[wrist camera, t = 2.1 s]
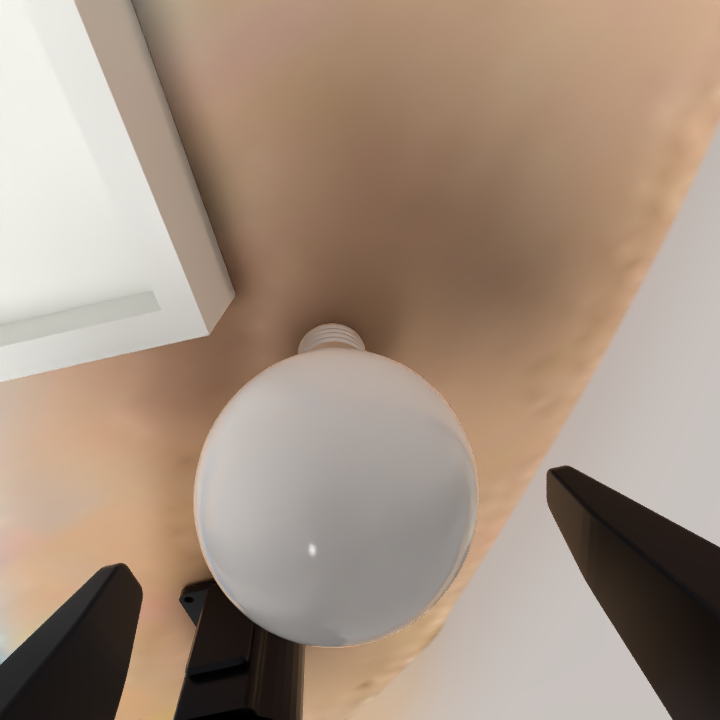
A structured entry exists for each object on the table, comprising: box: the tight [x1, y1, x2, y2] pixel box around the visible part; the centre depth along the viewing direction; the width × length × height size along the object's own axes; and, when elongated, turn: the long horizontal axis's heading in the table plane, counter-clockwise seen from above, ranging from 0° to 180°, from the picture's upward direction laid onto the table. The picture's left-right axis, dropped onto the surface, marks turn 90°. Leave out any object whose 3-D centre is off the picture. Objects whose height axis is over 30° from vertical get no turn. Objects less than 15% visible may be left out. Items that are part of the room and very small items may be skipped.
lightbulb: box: [193, 323, 479, 648], centre depth 12 cm, size 6×6×11 cm
